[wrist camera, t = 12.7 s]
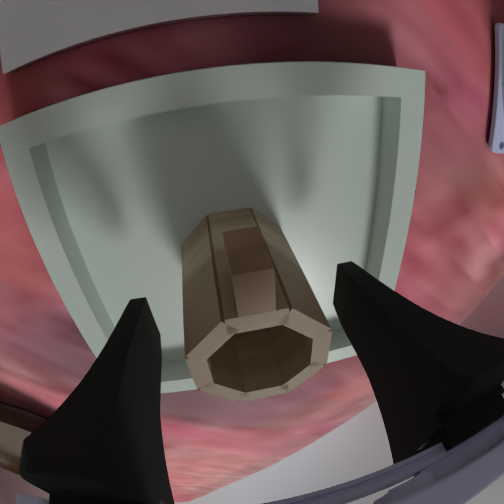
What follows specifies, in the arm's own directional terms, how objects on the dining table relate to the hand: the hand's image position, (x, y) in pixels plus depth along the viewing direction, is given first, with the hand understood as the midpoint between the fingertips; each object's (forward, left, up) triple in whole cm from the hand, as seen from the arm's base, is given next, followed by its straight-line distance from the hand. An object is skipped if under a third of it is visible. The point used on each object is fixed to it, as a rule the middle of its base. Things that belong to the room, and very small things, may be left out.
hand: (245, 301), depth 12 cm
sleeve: (0, 0, -3) cm, 3 cm away
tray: (0, 0, -4) cm, 4 cm away
